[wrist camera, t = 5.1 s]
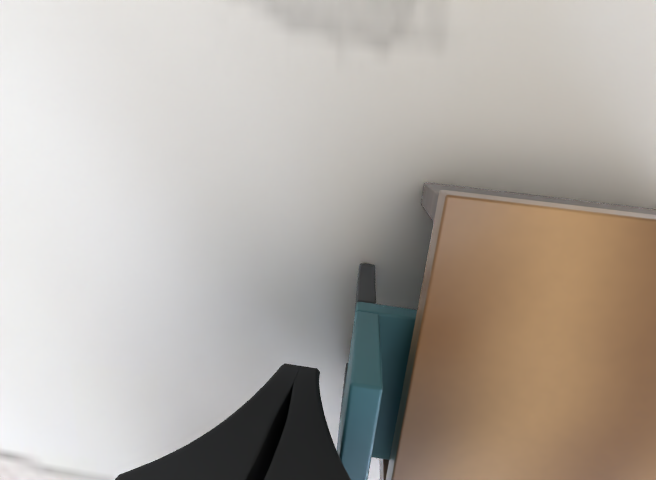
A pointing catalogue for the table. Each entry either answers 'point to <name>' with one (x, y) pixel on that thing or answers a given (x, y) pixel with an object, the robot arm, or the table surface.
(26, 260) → the table surface
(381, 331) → the chair
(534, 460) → the desk
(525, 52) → the table surface
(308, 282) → the table surface
